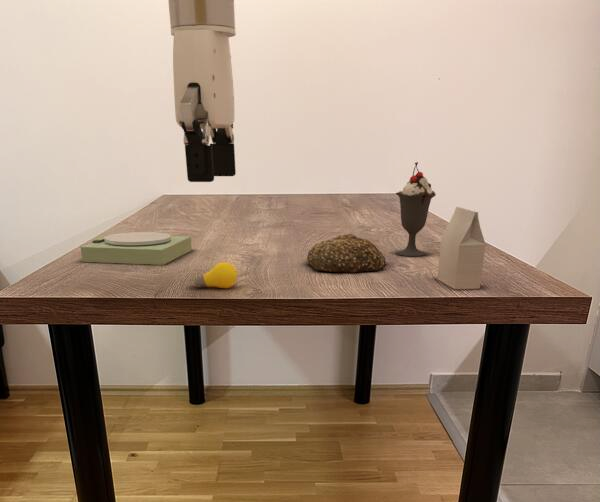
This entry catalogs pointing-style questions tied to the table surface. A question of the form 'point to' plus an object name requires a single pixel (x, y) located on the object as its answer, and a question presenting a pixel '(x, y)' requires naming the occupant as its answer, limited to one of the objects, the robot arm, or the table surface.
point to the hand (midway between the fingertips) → (213, 178)
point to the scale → (136, 248)
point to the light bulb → (218, 276)
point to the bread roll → (345, 255)
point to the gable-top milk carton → (462, 251)
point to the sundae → (414, 209)
